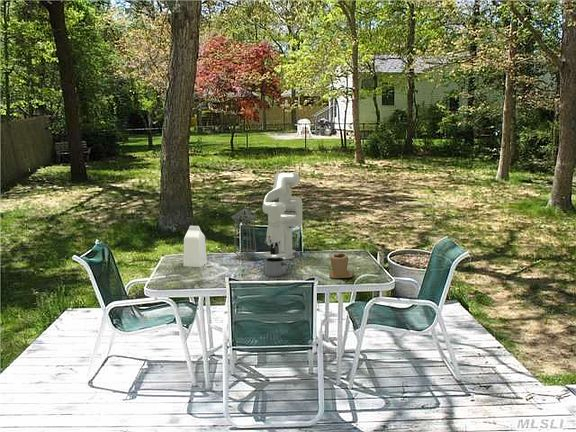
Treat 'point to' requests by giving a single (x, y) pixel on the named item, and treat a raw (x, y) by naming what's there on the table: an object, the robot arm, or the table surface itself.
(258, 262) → the table surface
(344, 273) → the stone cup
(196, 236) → the milk
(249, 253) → the geometric lantern
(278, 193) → the robot arm
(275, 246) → the lid
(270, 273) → the pot
